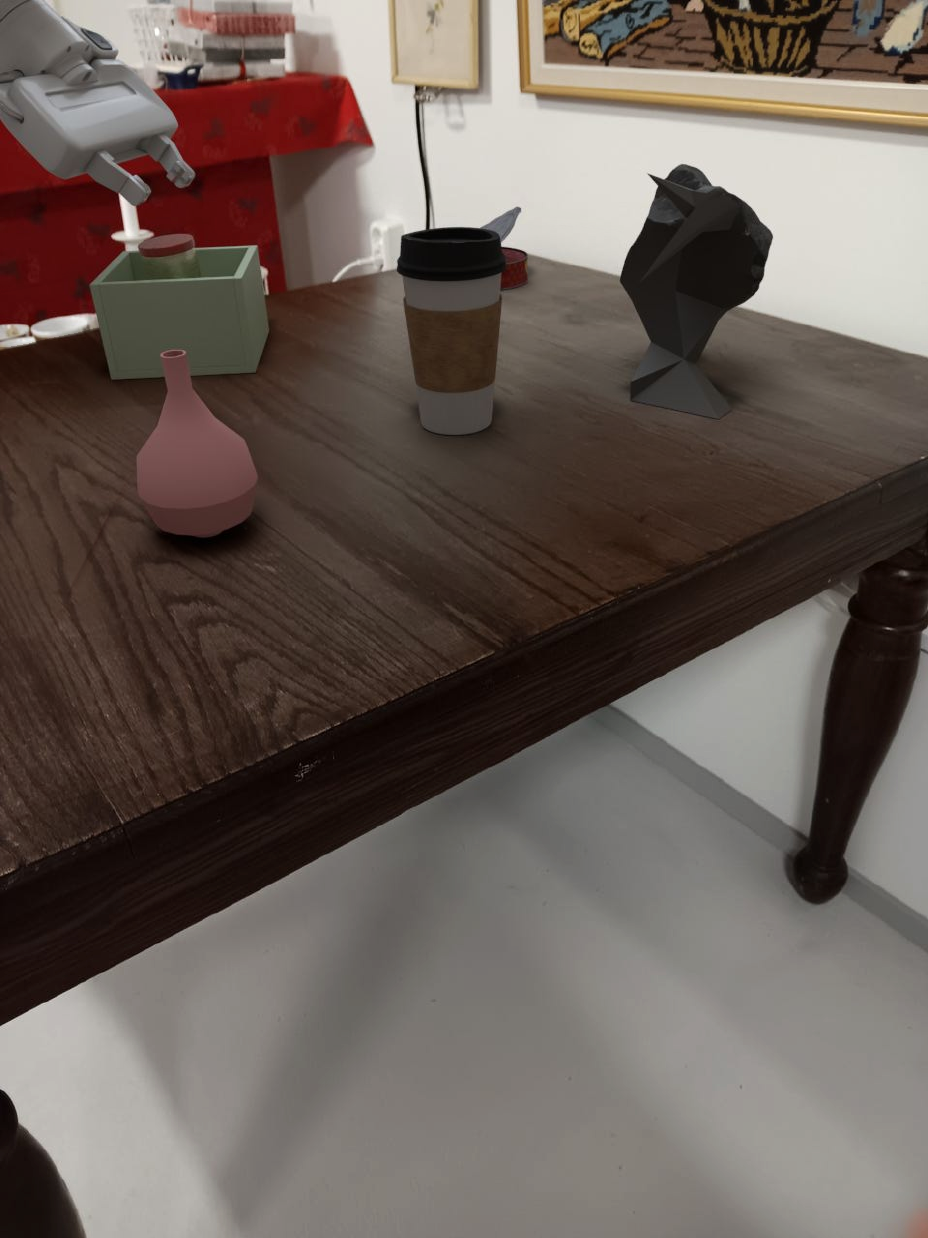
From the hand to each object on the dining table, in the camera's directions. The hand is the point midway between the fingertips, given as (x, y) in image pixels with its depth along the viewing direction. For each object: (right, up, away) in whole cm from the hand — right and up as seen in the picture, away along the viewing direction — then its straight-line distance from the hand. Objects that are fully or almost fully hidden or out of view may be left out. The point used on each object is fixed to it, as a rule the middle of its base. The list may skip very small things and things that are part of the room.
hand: (167, 190), depth 88 cm
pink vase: (+10, -33, -23) cm, 42 cm away
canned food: (+30, +2, +31) cm, 43 cm away
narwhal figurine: (+47, -17, 0) cm, 50 cm away
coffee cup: (+27, -23, -8) cm, 36 cm away
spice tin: (0, -12, +9) cm, 14 cm away
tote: (0, -12, +9) cm, 15 cm away
